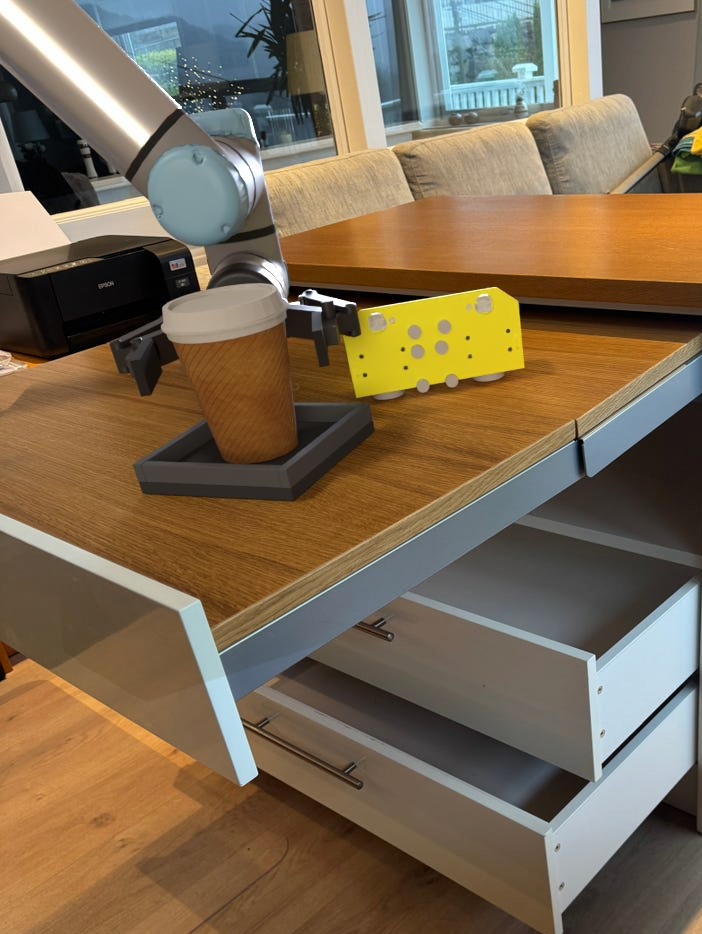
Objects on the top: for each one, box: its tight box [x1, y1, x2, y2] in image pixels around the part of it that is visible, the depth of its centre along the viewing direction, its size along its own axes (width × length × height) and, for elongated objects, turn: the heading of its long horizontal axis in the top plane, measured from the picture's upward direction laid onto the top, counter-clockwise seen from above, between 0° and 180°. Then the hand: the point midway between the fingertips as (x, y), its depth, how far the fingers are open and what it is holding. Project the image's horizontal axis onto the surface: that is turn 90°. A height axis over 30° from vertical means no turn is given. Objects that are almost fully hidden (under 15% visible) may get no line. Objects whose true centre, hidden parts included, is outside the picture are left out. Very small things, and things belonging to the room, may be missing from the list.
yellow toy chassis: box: [342, 286, 525, 401], centre depth 83 cm, size 16×6×8 cm, turn 101°
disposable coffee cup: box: [161, 283, 299, 464], centre depth 70 cm, size 10×10×12 cm
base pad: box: [132, 402, 376, 502], centre depth 73 cm, size 14×14×2 cm
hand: (231, 363), depth 67 cm, fingers open, 13 cm apart
